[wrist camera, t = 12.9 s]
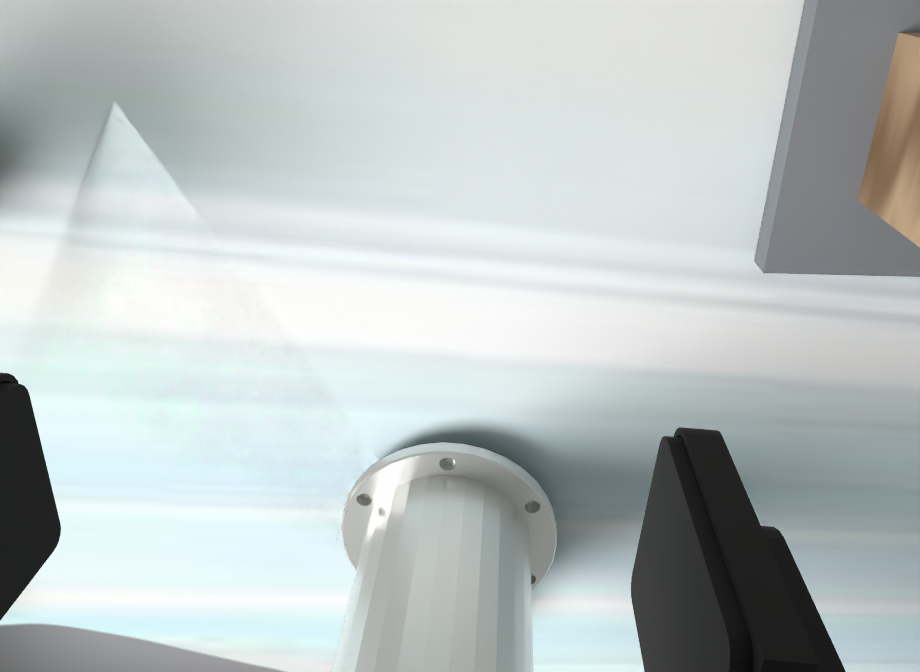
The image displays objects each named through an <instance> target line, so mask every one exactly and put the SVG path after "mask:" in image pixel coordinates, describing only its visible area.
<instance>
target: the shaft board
mask: <svg viewBox="0 0 920 672" xmlns="http://www.w3.org/2000/svg"><path fill="white" fill-rule="evenodd" d="M898 33H920V0H805V2H804V7H803V12H802V17H801V22H800V28H799V33H798V38H797V43H796V48H795V53H794V59H793V64H792V69H791V74H790V79H789V84H788V90H787V95H786V100H785V105H784V110H783V115H782V121H781V126H780V131H779V136H778V141H777V146H776V152H775V157H774V162H773V167H772V172H771V177H770V183H769V188H768V193H767V198H766V203H765V208H764V214H763V219H762V224H761V229H760V234H759V239H758V245H757V250H756V255H755V260H754V261H755V263H756V264H757V265H758V267H759V268H760V269H761V271H762V272H763V273H788V274H830V275H871V276H913V277H920V247H918V246H917V245H916V244H914V243H913V242H912V241H910V240H909V239H908V238H906V237H905V236H904V235H902V234H901V233H900V232H899V231H897V230H896V229H895V228H893V227H892V226H891V225H889V224H888V223H887V222H885V221H884V220H883V219H881V218H880V217H879V216H877V215H876V214H875V213H874V212H872V211H871V210H870V209H868V208H867V207H866V206H864V205H863V204H862V203H860V202H859V201H858V196H859V192H860V188H861V184H862V180H863V176H864V172H865V168H866V164H867V160H868V155H869V151H870V147H871V143H872V139H873V135H874V131H875V127H876V123H877V119H878V114H879V110H880V106H881V102H882V98H883V94H884V90H885V86H886V82H887V78H888V73H889V69H890V65H891V61H892V57H893V53H894V49H895V45H896V41H897V37H898Z"/></svg>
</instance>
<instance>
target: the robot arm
mask: <svg viewBox="0 0 920 672" xmlns="http://www.w3.org/2000/svg"><path fill="white" fill-rule="evenodd" d="M60 531H61V526H60V521H59V516H58V512H57V508H56V504H55V500H54V496H53V492H52V487H51V483H50V479H49V475H48V471H47V467H46V462H45V458H44V454H43V450H42V446H41V442H40V438H39V433H38V429H37V425H36V421H35V417H34V413H33V408H32V404H31V400H30V396H29V393H28V390H27V389H26V387H25V386H23V385H21V384H19V383H18V381H17V379H16V378H15V377H14V376H13V375H10V374H8V373H0V620H1V619H2V618H3V616H4V615H5V614H6V612H7V611H8V610H9V608H10V607H11V606H12V605H13V603H14V602H15V601H16V599H17V598H18V597H19V595H20V594H21V593H22V591H23V590H24V589H25V588H26V586H27V585H28V584H29V582H30V581H31V580H32V578H33V577H34V576H35V575H36V573H37V572H38V571H39V569H40V568H41V567H42V565H43V564H44V563H45V562H46V560H47V559H48V558H49V556H50V555H51V554H52V552H53V551H54V549H55V548H56V546H57V544H58V541H59V538H60ZM341 531H342V542H343V545H344V548H345V551H346V554H347V557H348V559H349V560H350V562H351V564H352V565H353V567H354V569H355V570H356V574H355V578H354V582H353V586H352V590H351V594H350V598H349V602H348V606H347V610H346V614H345V618H344V622H343V626H342V630H341V634H340V638H339V642H338V645H337V649H336V653H335V657H334V661H333V665H332V669H331V672H533V634H532V595H531V591H532V590H533V589H534V588H536V587H537V586H538V584H539V583H540V582H541V581H542V579H543V578H544V577H545V576H546V574H547V573H548V571H549V569H550V567H551V564H552V562H553V560H554V557H555V552H556V547H557V527H556V521H555V515H554V510H553V508H552V506H551V503H550V501H549V499H548V496H547V495H546V493H545V492H544V490H543V489H542V488H541V486H540V485H539V484H538V482H537V481H536V480H535V479H534V478H533V477H532V476H531V475H530V474H529V473H527V472H526V471H525V470H524V469H523V468H522V467H520V466H519V465H517V464H516V463H514V462H512V461H511V460H509V459H508V458H506V457H504V456H501V455H499V454H497V453H494V452H492V451H489V450H487V449H484V448H479V447H475V446H471V445H467V444H458V443H445V442H442V443H429V444H420V445H416V446H412V447H408V448H404V449H401V450H399V451H397V452H394V453H392V454H390V455H388V456H385V457H383V458H382V459H381V460H379V461H378V462H376V463H375V464H373V465H372V466H371V467H369V468H368V469H367V470H366V471H365V472H364V473H363V474H362V476H361V477H360V478H359V479H358V480H357V481H356V483H355V485H354V486H353V488H352V490H351V492H350V493H349V496H348V499H347V502H346V505H345V508H344V511H343V517H342V524H341ZM631 597H632V604H633V609H634V615H635V620H636V626H637V631H638V637H639V642H640V648H641V653H642V659H643V664H644V670H645V672H845V669H844V667H843V665H842V663H841V661H840V659H839V656H838V654H837V652H836V650H835V648H834V645H833V643H832V641H831V639H830V637H829V635H828V632H827V630H826V628H825V626H824V624H823V622H822V619H821V617H820V615H819V613H818V611H817V609H816V606H815V604H814V602H813V600H812V598H811V596H810V593H809V591H808V589H807V587H806V585H805V582H804V580H803V578H802V576H801V574H800V572H799V569H798V567H797V565H796V563H795V561H794V559H793V556H792V554H791V552H790V550H789V548H788V546H787V543H786V541H785V539H784V537H783V536H782V534H781V533H780V531H779V530H777V529H776V528H774V527H767V526H761V525H760V523H759V521H758V519H757V516H756V514H755V512H754V509H753V507H752V505H751V502H750V500H749V498H748V495H747V493H746V491H745V488H744V486H743V484H742V481H741V479H740V477H739V474H738V472H737V470H736V467H735V465H734V463H733V460H732V458H731V456H730V453H729V451H728V449H727V446H726V444H725V442H724V439H723V437H722V435H721V433H720V432H719V431H717V430H705V429H692V428H680V427H679V428H678V429H677V430H676V432H675V434H674V437H667V436H664V437H662V439H661V442H660V446H659V450H658V455H657V460H656V464H655V469H654V474H653V479H652V483H651V488H650V493H649V497H648V502H647V507H646V512H645V516H644V521H643V526H642V530H641V535H640V540H639V545H638V549H637V554H636V559H635V564H634V568H633V573H632V581H631Z"/></svg>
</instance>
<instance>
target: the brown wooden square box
mask: <svg viewBox="0 0 920 672" xmlns="http://www.w3.org/2000/svg"><path fill="white" fill-rule="evenodd" d="M858 201H859V202H860V203H862V204H863V205H864V206H866V207H867V208H868V209H870V210H871V211H872V212H874V213H875V214H876V215H877V216H879V217H880V218H881V219H883V220H884V221H885V222H887V223H888V224H889V225H891V226H892V227H893V228H895V229H896V230H897V231H899V232H900V233H901V234H902V235H904V236H905V237H906V238H908V239H909V240H910V241H912V242H913V243H914V244H916V245H917V246H918V247H920V33H898V37H897V41H896V45H895V49H894V53H893V57H892V61H891V65H890V69H889V73H888V78H887V82H886V86H885V90H884V94H883V98H882V102H881V106H880V110H879V114H878V119H877V123H876V127H875V131H874V135H873V139H872V143H871V147H870V151H869V155H868V160H867V164H866V168H865V172H864V176H863V180H862V184H861V188H860V192H859V196H858Z"/></svg>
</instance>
